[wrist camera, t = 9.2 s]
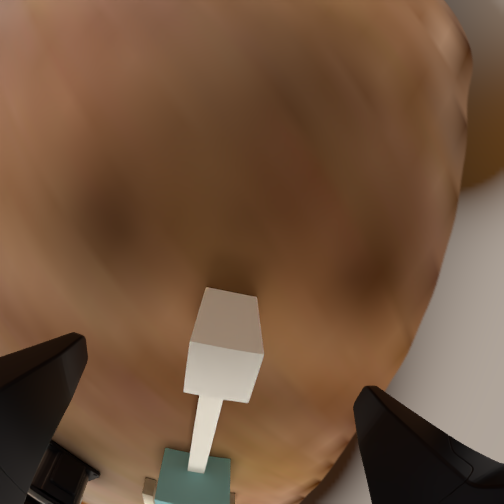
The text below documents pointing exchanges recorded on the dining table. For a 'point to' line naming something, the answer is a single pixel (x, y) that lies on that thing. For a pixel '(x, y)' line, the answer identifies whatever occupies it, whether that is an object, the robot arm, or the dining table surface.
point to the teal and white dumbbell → (213, 394)
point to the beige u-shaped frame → (150, 492)
